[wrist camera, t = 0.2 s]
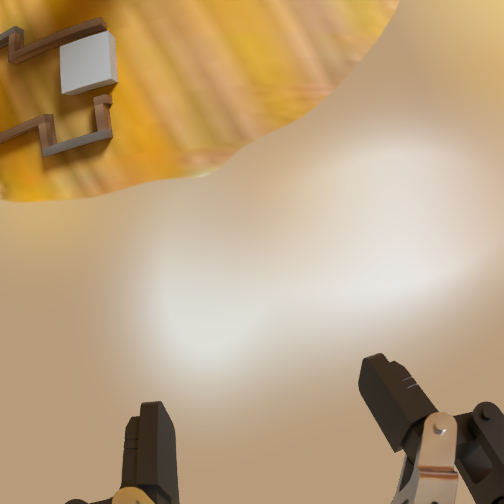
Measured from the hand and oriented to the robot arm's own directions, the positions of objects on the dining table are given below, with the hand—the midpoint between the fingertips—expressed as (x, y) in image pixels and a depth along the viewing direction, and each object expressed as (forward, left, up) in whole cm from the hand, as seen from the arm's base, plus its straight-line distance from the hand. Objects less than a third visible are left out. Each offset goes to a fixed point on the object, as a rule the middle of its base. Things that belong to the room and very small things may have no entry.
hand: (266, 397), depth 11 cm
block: (-20, -12, -29) cm, 37 cm away
